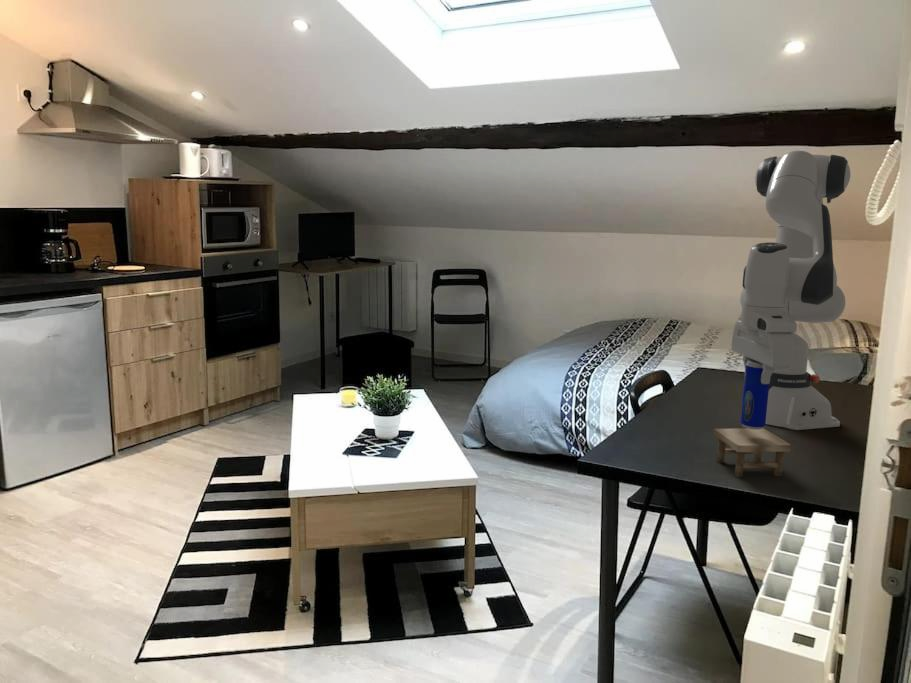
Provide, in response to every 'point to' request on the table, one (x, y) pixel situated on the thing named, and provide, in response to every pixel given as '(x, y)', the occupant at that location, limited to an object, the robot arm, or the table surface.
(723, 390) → the table surface
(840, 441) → the table surface
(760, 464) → the stool
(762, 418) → the beverage can
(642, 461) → the table surface
